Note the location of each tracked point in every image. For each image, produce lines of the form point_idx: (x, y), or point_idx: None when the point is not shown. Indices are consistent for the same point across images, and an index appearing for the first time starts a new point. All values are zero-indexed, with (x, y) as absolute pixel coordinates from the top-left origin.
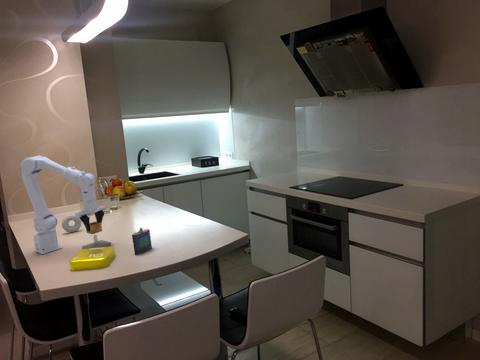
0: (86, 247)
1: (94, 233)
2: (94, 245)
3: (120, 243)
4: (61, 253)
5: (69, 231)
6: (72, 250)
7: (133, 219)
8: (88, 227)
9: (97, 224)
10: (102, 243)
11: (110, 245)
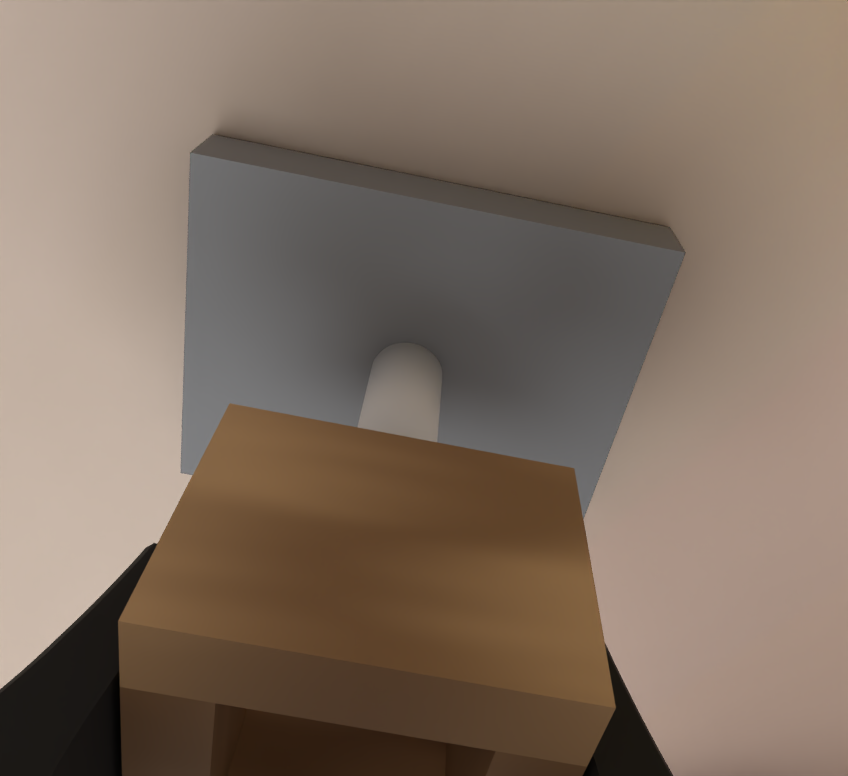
0: (609, 425)
1: (504, 456)
2: (472, 361)
3: (17, 15)
4: (784, 658)
5: None
6: (641, 609)
7: None
8: (642, 724)
9: (311, 632)
10: (319, 291)
11: (227, 138)
